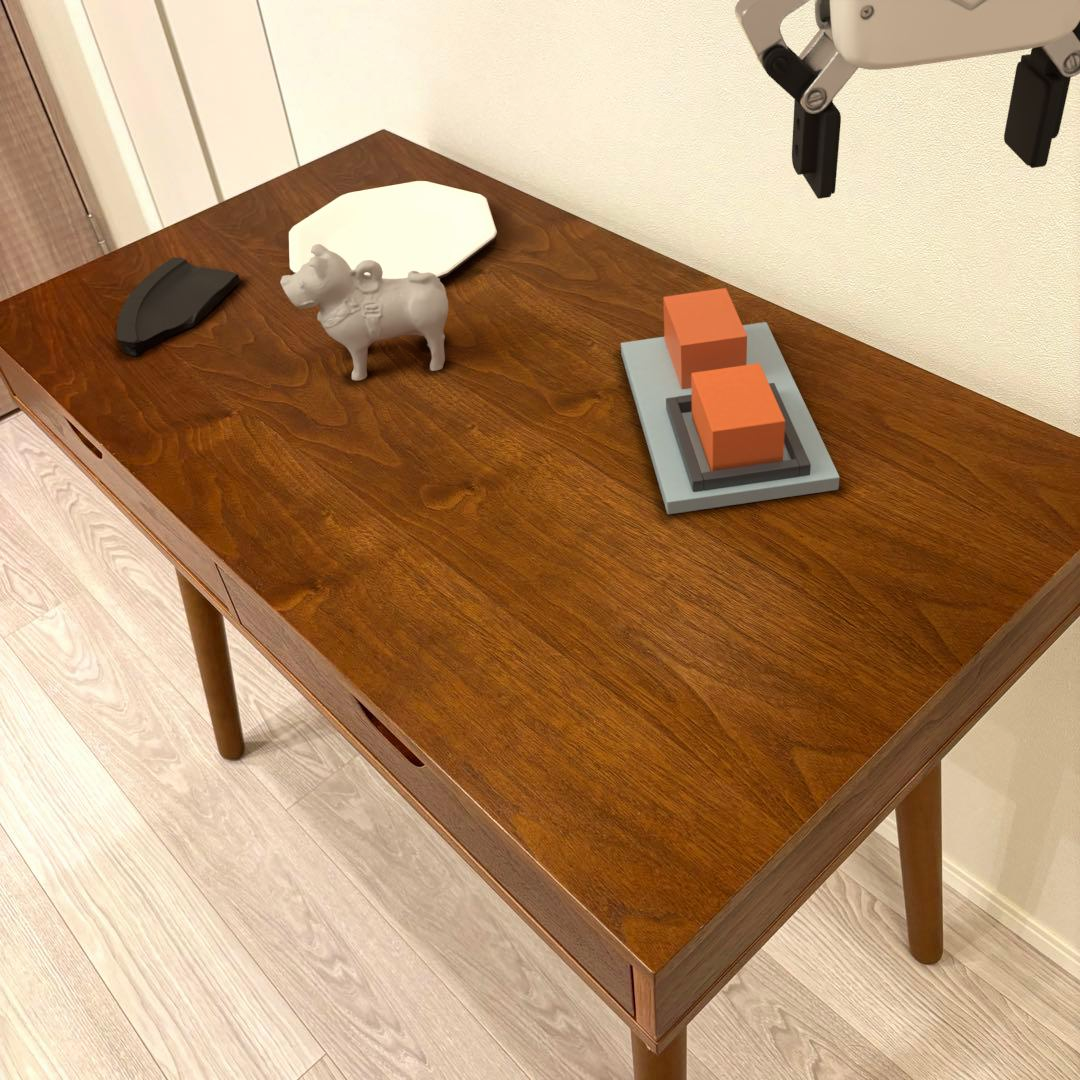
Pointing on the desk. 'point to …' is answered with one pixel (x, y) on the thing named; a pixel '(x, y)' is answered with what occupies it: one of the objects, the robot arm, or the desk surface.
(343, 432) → the desk surface
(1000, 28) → the robot arm
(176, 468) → the desk surface
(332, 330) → the dog figurine
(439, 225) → the plate
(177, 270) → the fan shaped piece
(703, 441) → the orange rectangular block
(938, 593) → the desk surface
